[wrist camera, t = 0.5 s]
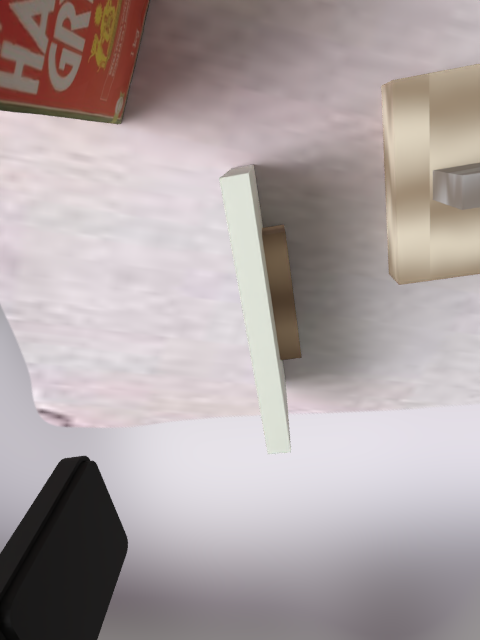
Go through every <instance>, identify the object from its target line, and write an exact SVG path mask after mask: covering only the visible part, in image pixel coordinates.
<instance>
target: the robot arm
mask: <svg viewBox="0 0 480 640" xmlns="http://www.w3.org/2000/svg"><path fill="white" fill-rule="evenodd" d="M127 548H128V540H127V536H126V534H125V531H124V529H123V526H122V524H121V521H120V519H119V517H118V514H117V512H116V510H115V507H114V505H113V502H112V500H111V498H110V495H109V493H108V490H107V488H106V485H105V483H104V481H103V478H102V476H101V473H100V471H99V469H98V466H97V464H96V463H95V462H94V461H90V459H89V458H88V457H87V456H79V457H72V458H65V459H62V460H61V461H60V462H59V463H58V465H57V466H56V468H55V470H54V471H53V473H52V474H51V476H50V477H49V479H48V480H47V482H46V484H45V485H44V487H43V488H42V490H41V492H40V493H39V494H38V496H37V498H36V499H35V501H34V502H33V504H32V505H31V507H30V508H29V510H28V512H27V513H26V515H25V516H24V518H23V519H22V521H21V522H20V524H19V526H18V527H17V529H16V530H15V532H14V533H13V535H12V537H11V538H10V540H9V541H8V543H7V544H6V546H5V547H4V549H3V551H2V552H1V554H0V640H97V638H98V636H99V633H100V630H101V627H102V624H103V621H104V618H105V615H106V612H107V609H108V606H109V603H110V600H111V597H112V594H113V591H114V588H115V586H116V583H117V580H118V577H119V574H120V571H121V568H122V565H123V562H124V559H125V556H126V553H127Z"/></svg>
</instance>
